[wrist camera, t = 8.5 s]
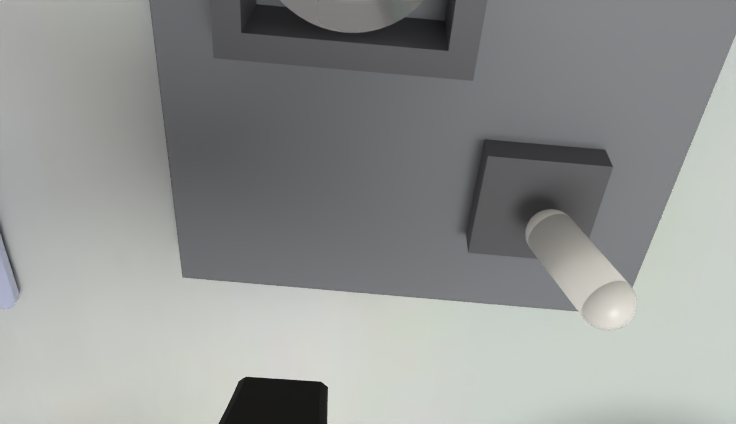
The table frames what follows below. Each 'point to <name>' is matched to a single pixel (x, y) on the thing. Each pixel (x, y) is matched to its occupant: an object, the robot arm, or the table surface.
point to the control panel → (428, 138)
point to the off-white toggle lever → (581, 270)
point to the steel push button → (352, 13)
